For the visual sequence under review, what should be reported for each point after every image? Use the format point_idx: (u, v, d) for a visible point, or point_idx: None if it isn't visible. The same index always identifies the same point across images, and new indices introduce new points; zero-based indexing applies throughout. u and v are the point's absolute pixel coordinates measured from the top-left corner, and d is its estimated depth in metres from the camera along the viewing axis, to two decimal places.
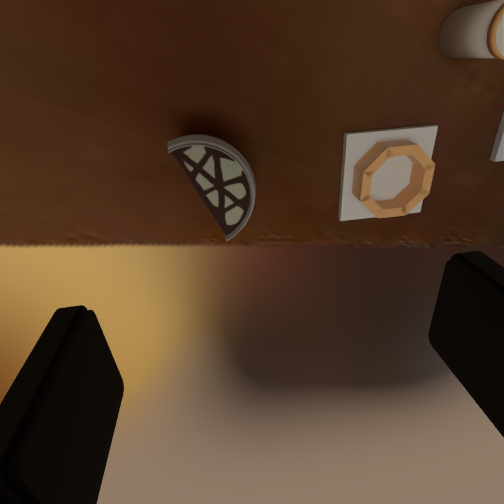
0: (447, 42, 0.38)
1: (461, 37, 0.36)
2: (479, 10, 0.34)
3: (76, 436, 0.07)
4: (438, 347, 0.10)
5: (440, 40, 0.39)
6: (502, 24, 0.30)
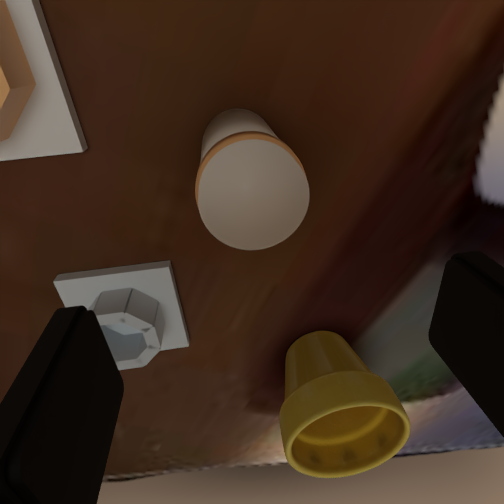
0: (222, 116, 0.21)
1: (231, 120, 0.19)
2: (273, 132, 0.18)
3: (76, 436, 0.07)
4: (438, 347, 0.10)
5: (225, 111, 0.22)
6: (256, 141, 0.14)
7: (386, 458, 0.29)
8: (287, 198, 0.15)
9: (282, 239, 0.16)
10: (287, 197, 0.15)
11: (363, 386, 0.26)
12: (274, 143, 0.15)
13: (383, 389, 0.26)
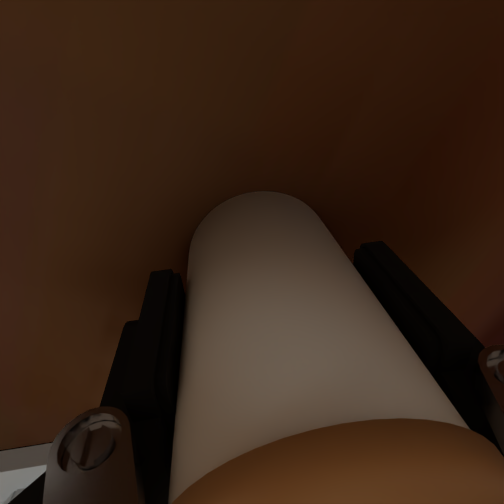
0: (231, 220, 0.09)
1: (259, 260, 0.07)
2: (372, 298, 0.07)
3: None
4: None
5: (237, 200, 0.10)
6: None
7: None
8: None
9: None
10: None
11: None
12: None
13: None
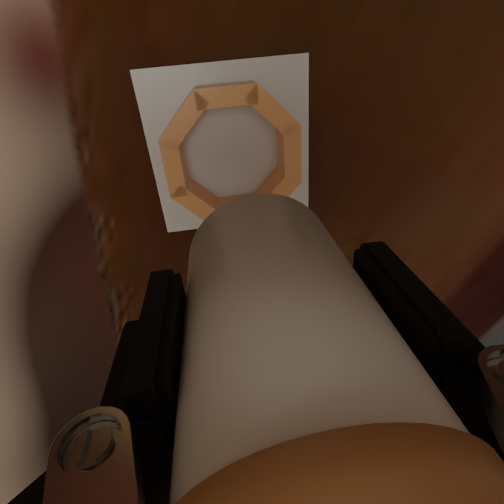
0: (231, 222, 0.09)
1: (259, 263, 0.07)
2: (371, 301, 0.07)
3: None
4: None
5: (237, 202, 0.10)
6: None
7: None
8: None
9: None
10: None
11: None
12: None
13: None
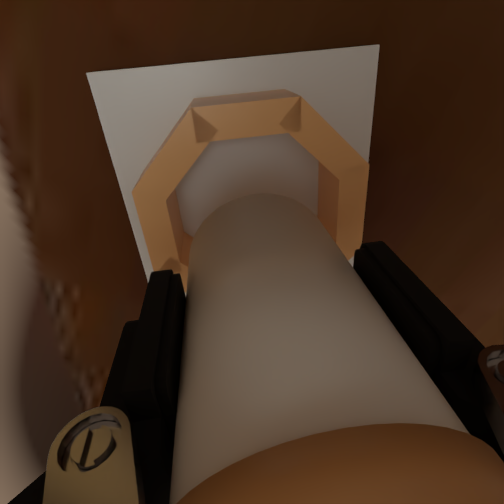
0: (231, 223, 0.09)
1: (259, 264, 0.07)
2: (371, 301, 0.07)
3: None
4: None
5: (237, 202, 0.10)
6: None
7: None
8: None
9: None
10: None
11: None
12: None
13: None
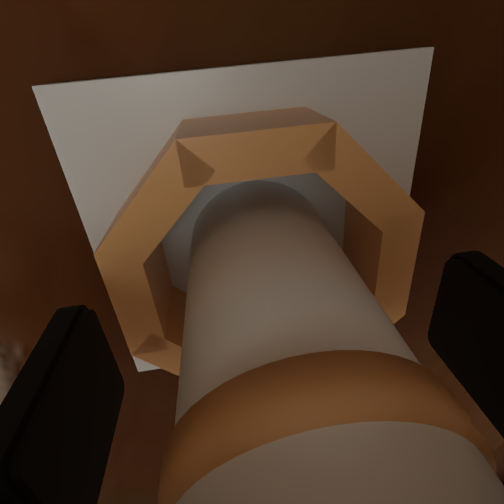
0: (229, 206, 0.10)
1: (254, 238, 0.08)
2: (352, 270, 0.08)
3: (77, 435, 0.07)
4: (437, 347, 0.10)
5: (235, 188, 0.11)
6: (382, 468, 0.04)
7: None
8: None
9: None
10: None
11: None
12: (429, 429, 0.04)
13: None
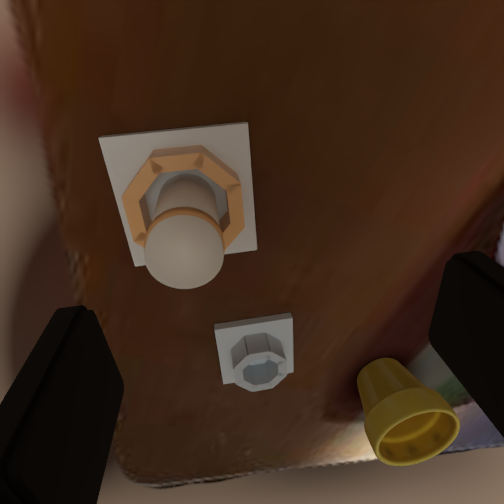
0: (171, 182, 0.28)
1: (175, 190, 0.25)
2: (205, 199, 0.25)
3: (76, 436, 0.07)
4: (438, 347, 0.10)
5: (175, 176, 0.29)
6: (182, 217, 0.21)
7: (441, 450, 0.41)
8: (207, 254, 0.22)
9: (208, 281, 0.23)
10: (208, 253, 0.22)
11: (429, 398, 0.38)
12: (197, 217, 0.21)
13: (441, 400, 0.39)
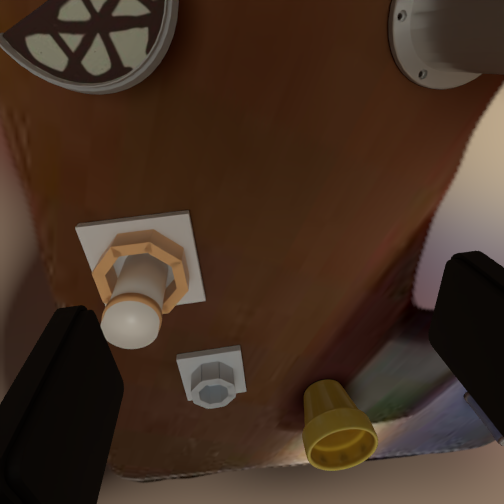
0: (130, 259, 0.36)
1: (129, 271, 0.34)
2: (151, 278, 0.34)
3: (76, 436, 0.07)
4: (438, 347, 0.10)
5: None
6: (125, 304, 0.30)
7: (365, 458, 0.49)
8: (146, 326, 0.31)
9: (149, 343, 0.32)
10: (146, 326, 0.31)
11: (350, 417, 0.47)
12: (137, 302, 0.30)
13: (362, 419, 0.47)
